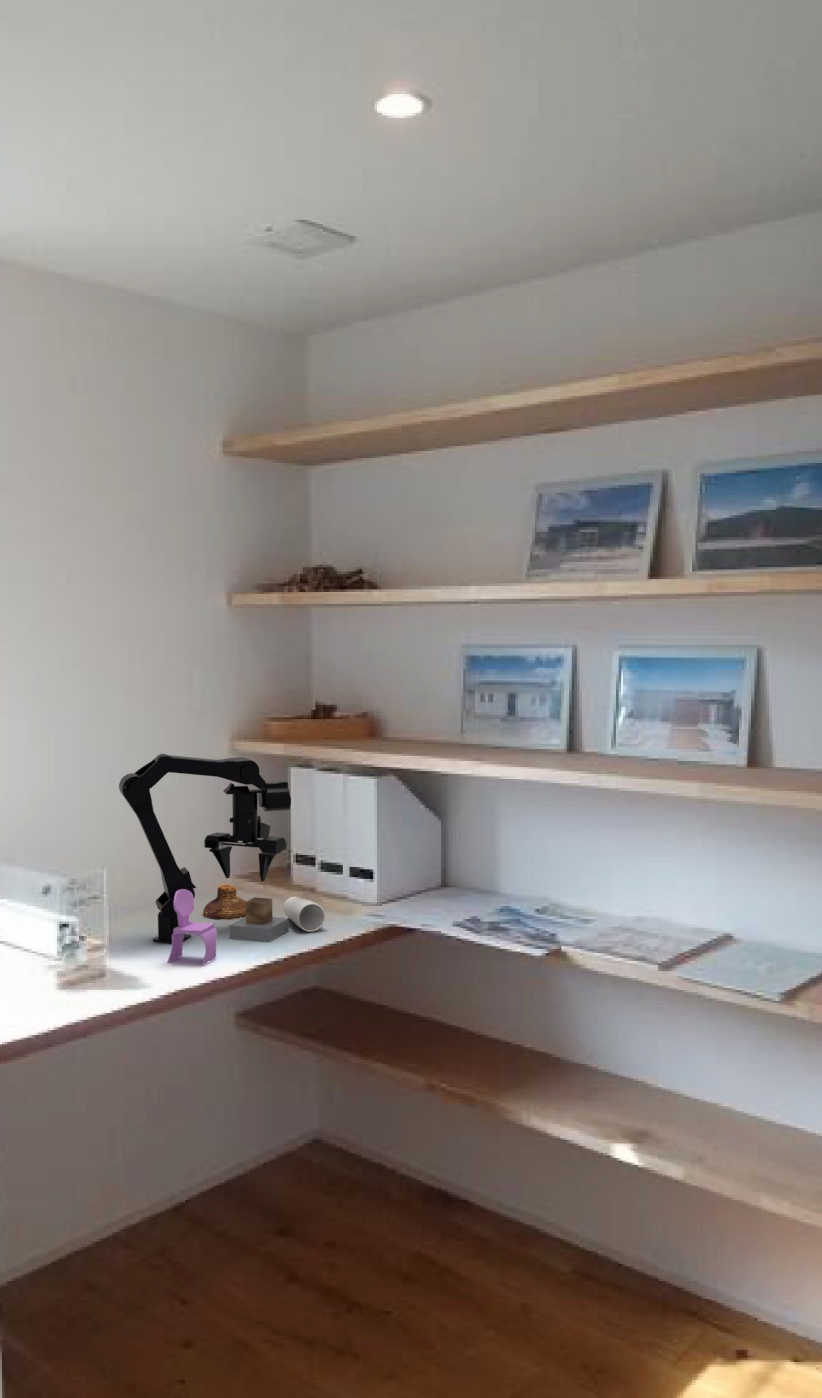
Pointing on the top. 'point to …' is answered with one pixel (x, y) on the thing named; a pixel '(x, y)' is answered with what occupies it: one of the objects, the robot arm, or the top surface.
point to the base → (259, 930)
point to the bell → (226, 904)
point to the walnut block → (259, 911)
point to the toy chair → (191, 927)
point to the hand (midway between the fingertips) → (245, 879)
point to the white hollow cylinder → (304, 913)
